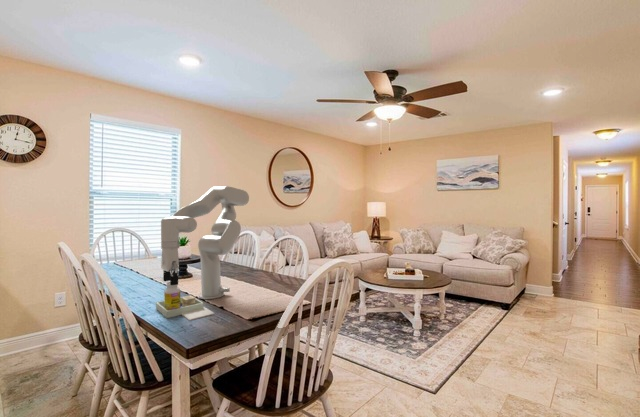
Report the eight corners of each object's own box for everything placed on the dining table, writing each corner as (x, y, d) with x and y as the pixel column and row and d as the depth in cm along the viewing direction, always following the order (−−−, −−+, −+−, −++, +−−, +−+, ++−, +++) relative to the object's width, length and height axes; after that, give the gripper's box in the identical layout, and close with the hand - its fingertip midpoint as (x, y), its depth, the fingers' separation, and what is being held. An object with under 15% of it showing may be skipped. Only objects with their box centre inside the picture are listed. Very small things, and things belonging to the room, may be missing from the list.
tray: (190, 301, 166) (190, 295, 166) (203, 309, 154) (203, 302, 154) (156, 308, 156) (155, 302, 156) (167, 318, 144) (166, 311, 144)
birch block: (191, 304, 161) (191, 295, 161) (195, 307, 158) (195, 297, 158) (182, 307, 158) (182, 297, 158) (185, 309, 155) (185, 299, 155)
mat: (204, 307, 156) (204, 306, 156) (214, 314, 148) (214, 313, 148) (180, 313, 149) (180, 312, 149) (189, 320, 141) (189, 319, 141)
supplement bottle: (170, 314, 149) (169, 285, 148) (161, 311, 152) (160, 283, 151) (184, 309, 154) (183, 282, 154) (175, 307, 158) (174, 280, 157)
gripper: (155, 243, 156) (156, 280, 156) (167, 247, 143) (168, 287, 143) (172, 242, 161) (173, 278, 161) (185, 246, 148) (186, 285, 148)
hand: (170, 282), depth 152 cm, fingers open, 9 cm apart
